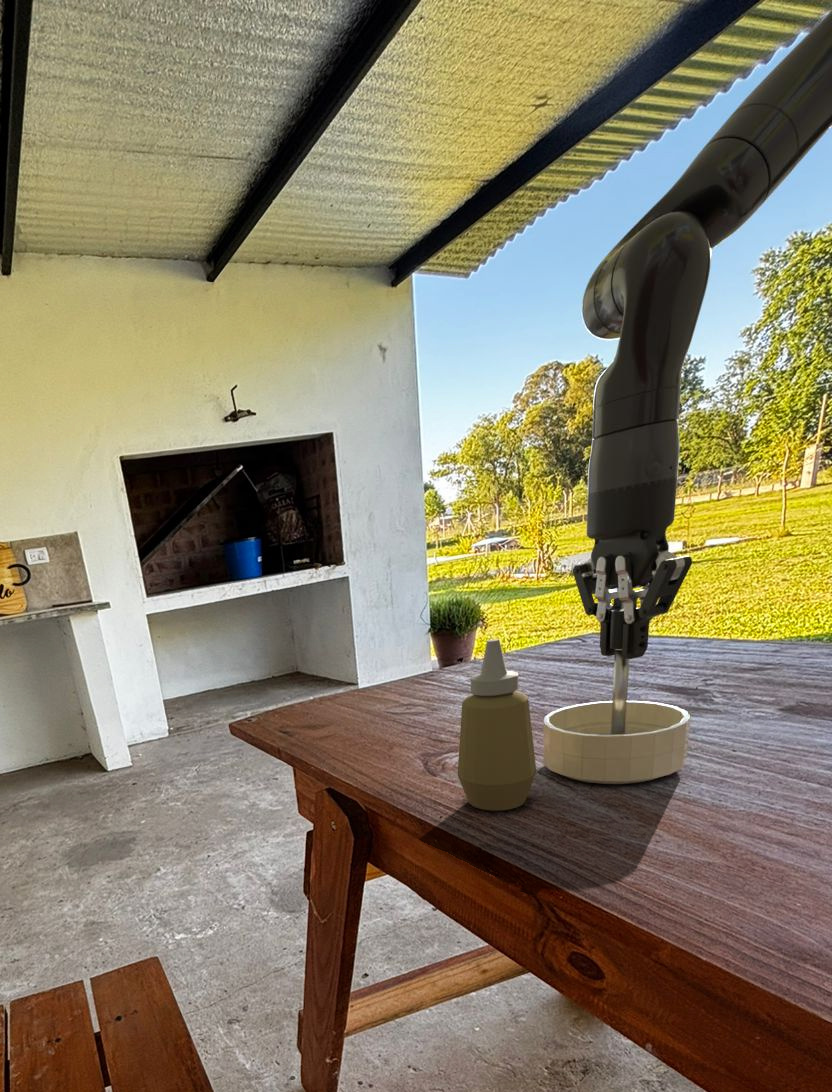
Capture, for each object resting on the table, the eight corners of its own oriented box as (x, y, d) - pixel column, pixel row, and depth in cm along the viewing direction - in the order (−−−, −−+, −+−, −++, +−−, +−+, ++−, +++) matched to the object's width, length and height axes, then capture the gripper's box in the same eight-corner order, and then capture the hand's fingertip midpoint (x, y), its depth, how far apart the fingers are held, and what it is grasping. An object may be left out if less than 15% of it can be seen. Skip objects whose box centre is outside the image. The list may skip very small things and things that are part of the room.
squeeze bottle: (540, 789, 70) (541, 629, 63) (531, 818, 63) (532, 644, 57) (466, 787, 74) (460, 636, 68) (451, 814, 68) (443, 651, 61)
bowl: (618, 739, 80) (620, 694, 78) (718, 769, 67) (724, 716, 64) (518, 763, 78) (518, 717, 76) (601, 798, 65) (603, 745, 63)
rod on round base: (619, 740, 74) (627, 603, 68) (658, 752, 68) (669, 604, 63) (578, 750, 73) (581, 613, 67) (613, 762, 68) (621, 615, 62)
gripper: (730, 462, 55) (710, 655, 61) (611, 486, 68) (604, 644, 74) (655, 476, 54) (643, 670, 60) (550, 498, 67) (548, 656, 73)
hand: (622, 655), depth 67 cm, fingers closed on rod on round base, 2 cm apart
